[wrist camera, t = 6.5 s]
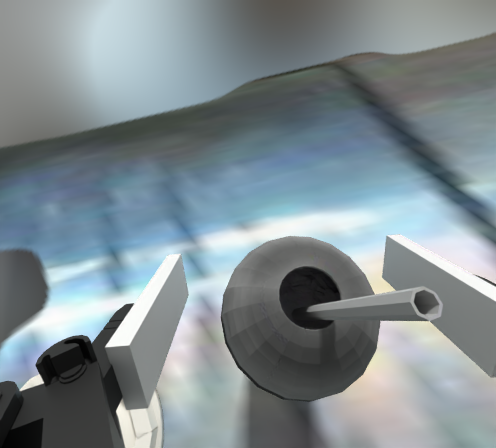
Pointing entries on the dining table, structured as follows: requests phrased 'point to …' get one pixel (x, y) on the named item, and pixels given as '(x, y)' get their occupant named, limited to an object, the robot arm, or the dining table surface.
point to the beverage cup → (309, 317)
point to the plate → (133, 421)
